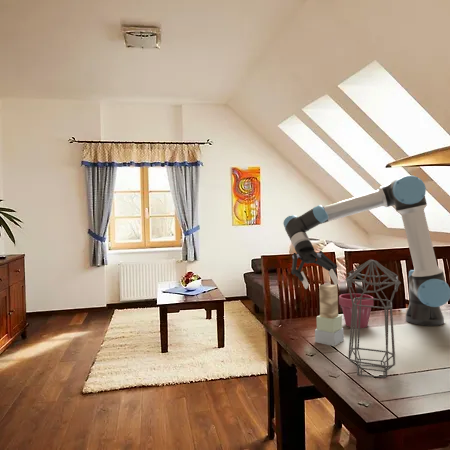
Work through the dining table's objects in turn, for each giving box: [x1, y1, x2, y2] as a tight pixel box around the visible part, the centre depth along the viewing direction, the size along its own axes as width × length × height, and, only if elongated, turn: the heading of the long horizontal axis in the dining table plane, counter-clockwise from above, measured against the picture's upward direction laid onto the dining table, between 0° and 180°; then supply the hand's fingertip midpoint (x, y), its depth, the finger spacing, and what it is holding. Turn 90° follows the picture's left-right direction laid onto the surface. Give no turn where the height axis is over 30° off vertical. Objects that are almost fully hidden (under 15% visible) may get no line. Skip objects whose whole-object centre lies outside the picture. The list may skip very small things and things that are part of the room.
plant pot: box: [338, 292, 375, 329], centre depth 166 cm, size 14×14×13 cm
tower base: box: [314, 327, 345, 347], centre depth 147 cm, size 8×8×5 cm
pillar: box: [318, 283, 339, 319], centre depth 146 cm, size 5×5×12 cm
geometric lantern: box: [345, 259, 402, 379], centre depth 117 cm, size 16×16×35 cm
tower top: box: [315, 314, 343, 333], centre depth 146 cm, size 7×7×5 cm
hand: (322, 285), depth 149 cm, fingers open, 13 cm apart
